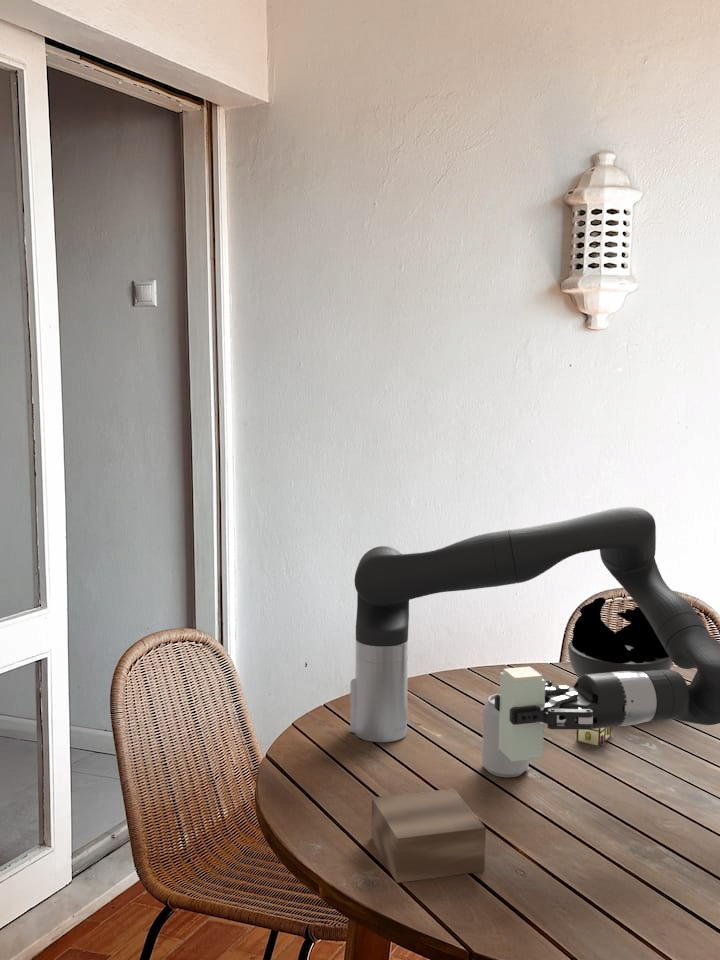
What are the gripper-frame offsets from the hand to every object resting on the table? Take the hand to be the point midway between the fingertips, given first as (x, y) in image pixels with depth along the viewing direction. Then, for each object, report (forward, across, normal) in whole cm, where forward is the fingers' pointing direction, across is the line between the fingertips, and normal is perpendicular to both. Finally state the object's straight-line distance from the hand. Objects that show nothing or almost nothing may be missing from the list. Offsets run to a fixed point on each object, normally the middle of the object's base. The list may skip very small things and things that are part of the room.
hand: (503, 709), depth 136 cm
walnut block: (+12, +2, +19) cm, 22 cm away
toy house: (-30, -32, +20) cm, 48 cm away
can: (-10, -21, +19) cm, 30 cm away
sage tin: (-3, 0, +6) cm, 7 cm away
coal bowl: (-45, -48, +19) cm, 68 cm away
